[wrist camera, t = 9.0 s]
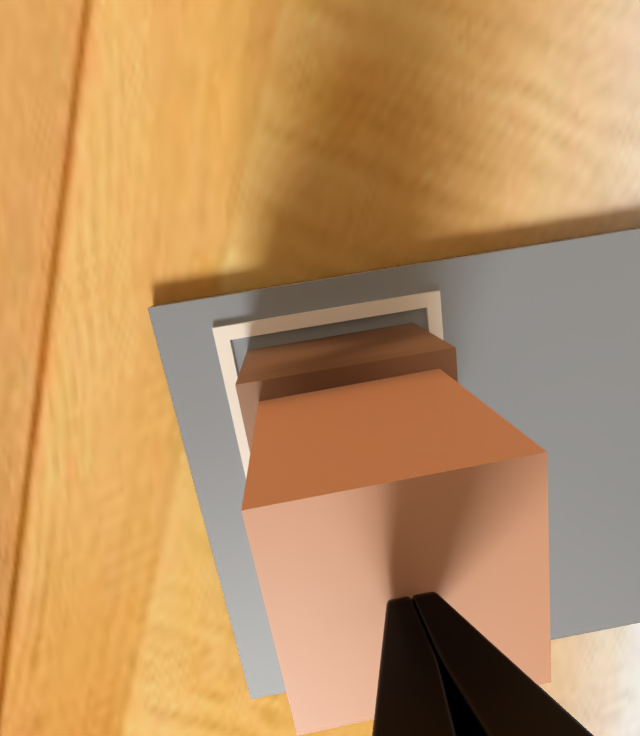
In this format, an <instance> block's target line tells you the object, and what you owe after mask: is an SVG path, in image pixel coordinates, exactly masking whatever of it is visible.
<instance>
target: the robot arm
mask: <svg viewBox="0 0 640 736" xmlns="http://www.w3.org/2000/svg"><path fill="white" fill-rule="evenodd" d="M372 736H593V735H592V734H591V733H590V732H589V731H588V730H587V729H586V728H585V727H583V726H582V725H581V724H580V723H579V722H578V721H577V720H576V719H575V718H574V717H572V716H571V715H570V714H569V713H568V712H567V711H566V710H565V709H564V708H563V707H561V706H560V705H559V704H558V703H557V702H556V701H555V700H554V699H553V698H552V697H551V696H549V695H548V694H547V693H546V692H545V691H544V690H543V689H542V688H541V687H540V686H538V685H537V684H536V683H535V682H534V681H533V680H532V679H531V678H530V677H529V676H527V675H526V674H525V673H524V672H523V671H522V670H521V669H520V668H519V667H518V666H516V665H515V664H514V663H513V662H512V661H511V660H510V659H509V658H508V657H507V656H506V655H504V654H503V653H502V652H501V651H500V650H499V649H498V648H497V647H496V646H495V645H493V644H492V643H491V642H490V641H489V640H488V639H487V638H486V637H485V636H484V635H482V634H481V633H480V632H479V631H478V630H477V629H476V628H475V627H474V626H473V625H471V624H470V623H469V622H468V621H467V620H466V619H465V618H464V617H463V616H462V615H460V614H459V613H458V612H457V611H456V610H455V609H454V608H453V607H452V606H451V605H450V604H448V603H447V602H446V601H445V600H444V599H443V598H442V597H441V596H440V595H439V594H437V593H436V592H426V593H421V594H416V595H414V596H413V597H412V599H411V598H410V597H408V596H405V597H400V598H395V599H390V600H388V602H387V605H386V613H385V623H384V632H383V641H382V650H381V659H380V669H379V678H378V687H377V696H376V705H375V715H374V724H373V733H372Z"/></svg>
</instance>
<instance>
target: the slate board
mask: <svg viewBox="0 0 640 736" xmlns="http://www.w3.org/2000/svg"><path fill="white" fill-rule="evenodd" d="M148 311H149V315H150V319H151V323H152V326H153V330H154V334H155V338H156V342H157V345H158V349H159V353H160V357H161V360H162V364H163V368H164V372H165V376H166V379H167V383H168V387H169V391H170V395H171V398H172V402H173V406H174V410H175V413H176V417H177V421H178V425H179V429H180V432H181V436H182V440H183V444H184V448H185V451H186V455H187V459H188V463H189V466H190V470H191V474H192V478H193V482H194V485H195V489H196V493H197V497H198V501H199V504H200V508H201V512H202V516H203V520H204V523H205V527H206V531H207V535H208V538H209V542H210V546H211V550H212V554H213V557H214V561H215V565H216V569H217V573H218V576H219V580H220V584H221V588H222V591H223V595H224V599H225V603H226V607H227V610H228V614H229V618H230V622H231V626H232V629H233V633H234V637H235V641H236V644H237V648H238V652H239V656H240V660H241V663H242V667H243V671H244V675H245V679H246V682H247V686H248V690H249V694H250V698H251V699H255V698H260V697H265V696H270V695H275V694H280V693H285V692H286V689H285V685H284V681H283V677H282V673H281V669H280V665H279V661H278V657H277V653H276V649H275V645H274V641H273V637H272V633H271V629H270V625H269V621H268V616H267V612H266V608H265V604H264V600H263V596H262V592H261V588H260V584H259V580H258V576H257V572H256V568H255V564H254V560H253V556H252V552H251V548H250V544H249V540H248V536H247V532H246V528H245V524H244V520H243V516H242V512H241V509H242V502H243V496H244V490H245V483H246V477H247V471H248V465H249V458H250V450H249V446H248V441H247V437H246V432H245V427H244V423H243V418H242V414H241V409H240V405H239V400H238V395H237V391H236V386H235V384H236V381H237V378H238V375H239V373H240V370H241V367H242V364H243V361H244V358H245V355H246V352H247V350H252V349H258V348H264V347H270V346H276V345H282V344H288V343H294V342H300V341H306V340H312V339H318V338H324V337H330V336H336V335H342V334H348V333H354V332H360V331H366V330H372V329H378V328H384V327H390V326H396V325H402V324H408V323H414V324H416V325H418V326H420V327H421V328H423V329H425V330H426V331H428V332H430V333H432V334H433V335H435V336H437V337H439V338H440V339H442V340H444V341H445V342H447V343H449V344H451V345H452V346H454V347H456V358H457V373H458V383H459V384H460V385H461V386H463V387H464V388H465V389H467V390H468V391H469V392H471V393H472V394H473V395H474V396H476V397H477V398H478V399H480V400H481V401H482V402H483V403H485V404H486V405H487V406H489V407H490V408H491V409H492V410H494V411H495V412H496V413H498V414H499V415H500V416H502V417H503V418H504V419H505V420H507V421H508V422H509V423H511V424H512V425H513V426H514V427H516V428H517V429H518V430H520V431H521V432H522V433H523V434H525V435H526V436H527V437H529V438H530V439H531V440H532V441H534V442H535V443H536V444H538V445H539V446H540V447H542V448H543V449H544V450H545V451H547V459H548V520H549V581H550V640H554V639H559V638H564V637H569V636H574V635H579V634H584V633H589V632H594V631H600V630H605V629H610V628H615V627H620V626H625V625H630V624H635V623H640V227H639V228H633V229H627V230H621V231H614V232H608V233H602V234H596V235H589V236H583V237H577V238H571V239H565V240H558V241H552V242H546V243H540V244H534V245H527V246H521V247H515V248H509V249H502V250H496V251H490V252H484V253H478V254H471V255H465V256H459V257H453V258H447V259H440V260H434V261H428V262H422V263H415V264H409V265H403V266H397V267H391V268H384V269H378V270H372V271H366V272H360V273H353V274H347V275H341V276H335V277H328V278H322V279H316V280H310V281H304V282H297V283H291V284H285V285H279V286H273V287H266V288H260V289H254V290H248V291H241V292H235V293H229V294H223V295H217V296H210V297H204V298H198V299H192V300H186V301H179V302H173V303H167V304H161V305H154V306H151V307H149V308H148Z"/></svg>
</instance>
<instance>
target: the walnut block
mask: <svg viewBox="0 0 640 736" xmlns="http://www.w3.org/2000/svg"><path fill="white" fill-rule="evenodd" d="M434 369H441V370H442V371H443V372H445V373H446V374H447V375H449V376H450V377H451V378H452V379H454V380H455V381H456V382H458V373H457V358H456V347H454V346H452V345H451V344H449V343H447V342H445V341H444V340H442V339H440V338H439V337H437V336H435V335H433V334H432V333H430V332H428V331H426V330H425V329H423V328H421V327H420V326H418V325H416V324H414V323H408V324H402V325H396V326H390V327H384V328H378V329H372V330H366V331H360V332H354V333H348V334H342V335H336V336H330V337H324V338H318V339H312V340H306V341H300V342H294V343H288V344H282V345H276V346H270V347H264V348H258V349H252V350H247V352H246V355H245V358H244V361H243V364H242V367H241V370H240V373H239V375H238V378H237V381H236V384H235V386H236V391H237V395H238V400H239V405H240V409H241V414H242V418H243V423H244V427H245V432H246V437H247V441H248V446H249V450H250V452H251V446H252V439H253V433H254V427H255V421H256V414H257V408H258V402H259V401H265V400H270V399H276V398H281V397H287V396H292V395H298V394H303V393H309V392H314V391H320V390H325V389H331V388H336V387H341V386H347V385H352V384H358V383H363V382H369V381H374V380H380V379H385V378H391V377H396V376H402V375H407V374H413V373H418V372H423V371H429V370H434Z"/></svg>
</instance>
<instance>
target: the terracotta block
mask: <svg viewBox="0 0 640 736" xmlns="http://www.w3.org/2000/svg"><path fill="white" fill-rule="evenodd" d="M241 512H242V516H243V520H244V524H245V528H246V532H247V536H248V540H249V544H250V548H251V552H252V556H253V560H254V564H255V568H256V572H257V576H258V580H259V584H260V588H261V592H262V596H263V600H264V604H265V608H266V612H267V616H268V621H269V625H270V629H271V633H272V637H273V641H274V645H275V649H276V653H277V657H278V661H279V665H280V669H281V673H282V677H283V681H284V685H285V689H286V693H287V697H288V701H289V705H290V709H291V713H292V717H293V721H294V725H295V729H296V733H297V736H298V735H302V734H307V733H312V732H317V731H321V730H326V729H331V728H336V727H340V726H345V725H350V724H355V723H359V722H364V721H369V720H374V715H375V705H376V696H377V687H378V678H379V669H380V659H381V650H382V641H383V632H384V623H385V613H386V605H387V602H388V600H390V599H395V598H400V597H405V596H408V597H410V598H411V599H412V597H413V596H414V595H416V594H421V593H426V592H436V593H437V594H439V595H440V596H441V597H442V598H443V599H444V600H445V601H446V602H447V603H448V604H450V605H451V606H452V607H453V608H454V609H455V610H456V611H457V612H458V613H459V614H460V615H462V616H463V617H464V618H465V619H466V620H467V621H468V622H469V623H470V624H471V625H473V626H474V627H475V628H476V629H477V630H478V631H479V632H480V633H481V634H482V635H484V636H485V637H486V638H487V639H488V640H489V641H490V642H491V643H492V644H493V645H495V646H496V647H497V648H498V649H499V650H500V651H501V652H502V653H503V654H504V655H506V656H507V657H508V658H509V659H510V660H511V661H512V662H513V663H514V664H515V665H516V666H518V667H519V668H520V669H521V670H522V671H523V672H524V673H525V674H526V675H527V676H529V677H530V678H531V679H532V680H533V681H534V682H535V683H536V684H537V685H540V684H544V683H549V682H551V642H550V581H549V520H548V459H547V451H545V450H544V449H543V448H542V447H540V446H539V445H538V444H536V443H535V442H534V441H532V440H531V439H530V438H529V437H527V436H526V435H525V434H523V433H522V432H521V431H520V430H518V429H517V428H516V427H514V426H513V425H512V424H511V423H509V422H508V421H507V420H505V419H504V418H503V417H502V416H500V415H499V414H498V413H496V412H495V411H494V410H492V409H491V408H490V407H489V406H487V405H486V404H485V403H483V402H482V401H481V400H480V399H478V398H477V397H476V396H474V395H473V394H472V393H471V392H469V391H468V390H467V389H465V388H464V387H463V386H461V385H460V384H459V383H458V382H456V381H455V380H454V379H452V378H451V377H450V376H449V375H447V374H446V373H445V372H443V371H442V370H441V369H434V370H429V371H423V372H418V373H413V374H407V375H402V376H396V377H391V378H385V379H380V380H374V381H369V382H363V383H358V384H352V385H347V386H341V387H336V388H331V389H325V390H320V391H314V392H309V393H303V394H298V395H292V396H287V397H281V398H276V399H270V400H265V401H259V402H258V408H257V414H256V421H255V427H254V433H253V439H252V446H251V452H250V458H249V465H248V471H247V477H246V483H245V490H244V496H243V502H242V509H241Z"/></svg>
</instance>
